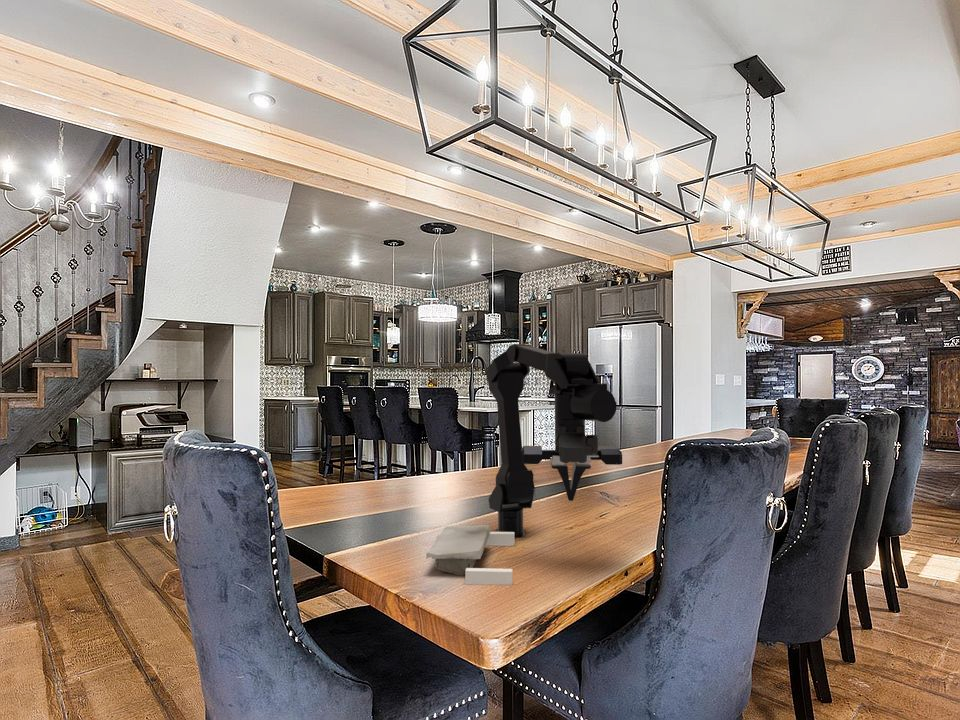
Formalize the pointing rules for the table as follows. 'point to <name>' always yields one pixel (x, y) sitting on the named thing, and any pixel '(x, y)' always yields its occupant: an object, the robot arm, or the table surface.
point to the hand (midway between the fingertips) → (570, 500)
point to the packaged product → (459, 547)
